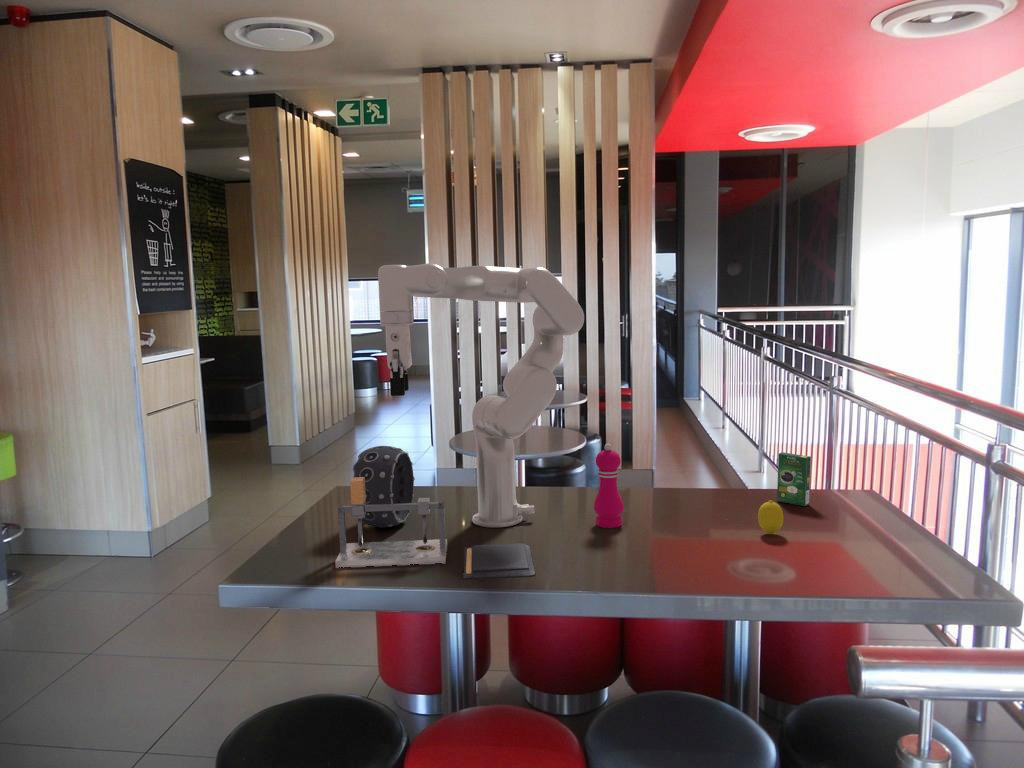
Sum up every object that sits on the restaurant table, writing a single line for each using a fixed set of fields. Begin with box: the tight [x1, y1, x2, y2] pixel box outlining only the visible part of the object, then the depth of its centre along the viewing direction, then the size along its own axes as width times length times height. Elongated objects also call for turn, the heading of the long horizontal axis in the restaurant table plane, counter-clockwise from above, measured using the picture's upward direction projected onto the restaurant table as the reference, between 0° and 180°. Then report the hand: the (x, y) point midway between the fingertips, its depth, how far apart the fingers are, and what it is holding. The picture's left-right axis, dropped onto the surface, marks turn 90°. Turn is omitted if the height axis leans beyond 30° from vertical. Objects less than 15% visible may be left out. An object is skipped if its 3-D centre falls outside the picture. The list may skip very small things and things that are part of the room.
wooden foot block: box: [349, 477, 366, 547], centre depth 166 cm, size 3×4×15 cm
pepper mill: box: [593, 443, 625, 529], centre depth 185 cm, size 7×7×20 cm
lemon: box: [757, 499, 785, 535], centre depth 175 cm, size 6×6×8 cm
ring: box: [350, 445, 416, 529], centre depth 190 cm, size 11×20×20 cm, turn 170°
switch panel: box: [334, 497, 448, 569], centre depth 166 cm, size 23×12×12 cm, turn 93°
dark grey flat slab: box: [462, 542, 536, 580], centre depth 162 cm, size 20×2×15 cm
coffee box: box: [776, 451, 812, 507], centre depth 200 cm, size 8×3×13 cm, turn 44°
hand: (399, 393), depth 177 cm, fingers open, 9 cm apart
